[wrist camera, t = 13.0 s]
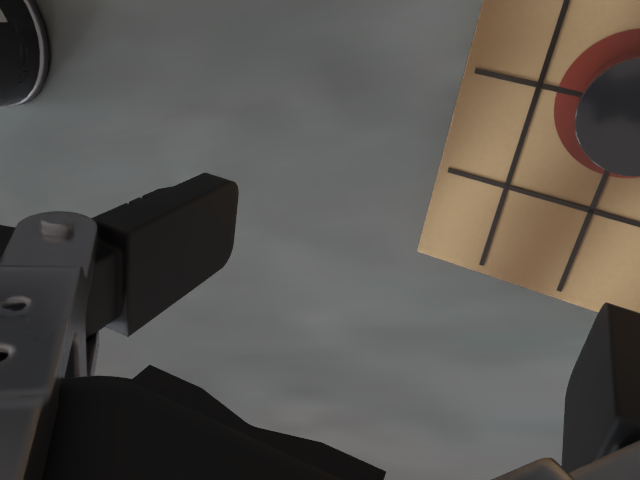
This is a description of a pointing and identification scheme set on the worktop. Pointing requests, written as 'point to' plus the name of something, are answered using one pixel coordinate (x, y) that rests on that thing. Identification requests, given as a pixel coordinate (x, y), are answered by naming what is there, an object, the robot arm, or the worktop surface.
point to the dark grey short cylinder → (612, 116)
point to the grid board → (537, 157)
